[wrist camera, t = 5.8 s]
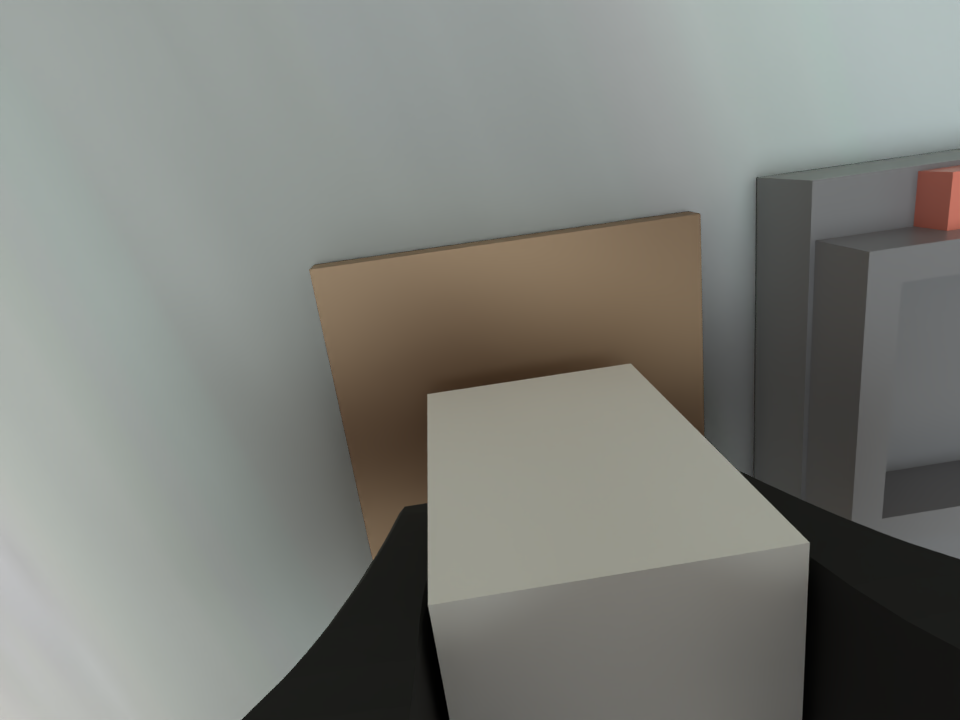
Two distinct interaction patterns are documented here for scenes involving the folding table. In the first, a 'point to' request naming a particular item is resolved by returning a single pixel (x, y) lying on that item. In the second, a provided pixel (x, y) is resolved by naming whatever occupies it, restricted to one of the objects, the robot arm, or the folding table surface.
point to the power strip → (863, 343)
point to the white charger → (604, 560)
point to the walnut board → (502, 332)
